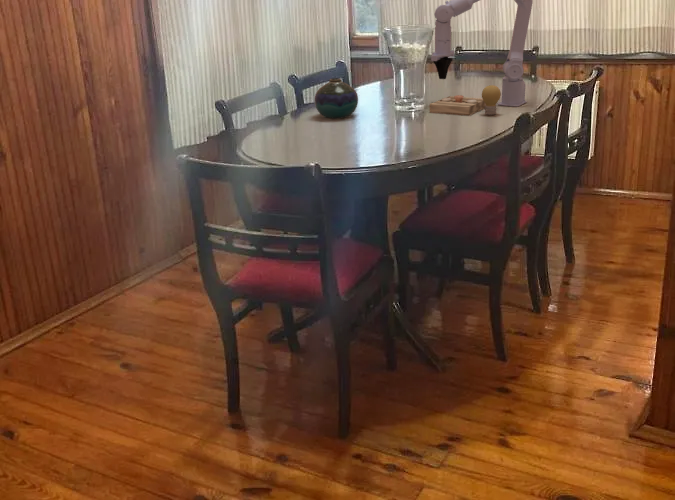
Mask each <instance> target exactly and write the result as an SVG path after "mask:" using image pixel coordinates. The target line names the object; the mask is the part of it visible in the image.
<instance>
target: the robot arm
mask: <svg viewBox="0 0 675 500" xmlns="http://www.w3.org/2000/svg"><path fill="white" fill-rule="evenodd" d="M479 1H481V0H449V1H448V0H446V1H445V2H444V4H440V5H438V6H436V8H435V10H434V18H435V23H434V24H435V25H434V26H435V27H434V52H431V56H430V61H431V62H433V64H434V66H435V68H436V71H437V74H438V78H439V80H446V79H447V76H448V72H449V68H450V65H451V63H452V61H453V58H452V57H455V50H452V26H451V20H452V18H453V17H454V18H456V17H458V16H460V15H462V14H464V13H465V12H468V11H469V10H471V9H473V5H474V4H476V3H477V2H479ZM513 1H514V2H515V3H516V6H517V8H516V13H515V19H514V23H513V24H514V25H513V29H512V30H513V31H512V36H511V41H510V47H509V51H508V54H507V56H506V57H507V58H506V61H505V62H503V65H502V72H503V73H504V76H503V77H502V80H501V82H502V83H501V88H502V89H501V101H500V102H497V103H496V106H506V107H520V106H522V105H524V104H526V103H528V100H526V82H525V80H524V76H523V74H524V66H523V65H524V63H523V62H524V50H525V45H526V39H527V34H528V29H529V24H530V19H531V13H532V8H533V0H513Z"/></svg>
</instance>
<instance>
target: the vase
mask: <svg viewBox="0 0 675 500" xmlns="http://www.w3.org/2000/svg"><path fill="white" fill-rule="evenodd" d="M358 103H359V97H358V93H357V91H356V90H355V88H354V87H353V86H351V85H349V84H348V83H346V82H344V81H342V78H340V77H339V78H338V77H334V78H330V79H329V81H328V82H327V83H325V84H323V85H322V86H321V87H320V88H319V89H318V90H316V92H315V95H314V107H315V108H316V110H317V112H318V113H319V114H320V115H321V116H323V118H328V119H344V118H348V117H350V116H351V115H352V114H353V113H355V110H356V109H357V108H358Z"/></svg>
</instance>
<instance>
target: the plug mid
mask: <svg viewBox="0 0 675 500" xmlns="http://www.w3.org/2000/svg"><path fill="white" fill-rule="evenodd" d="M453 96H454V99H455V102H457V103H462V99H463V97H465V96H464V95H462V94H461V95H460V94H458V95H453Z"/></svg>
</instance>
